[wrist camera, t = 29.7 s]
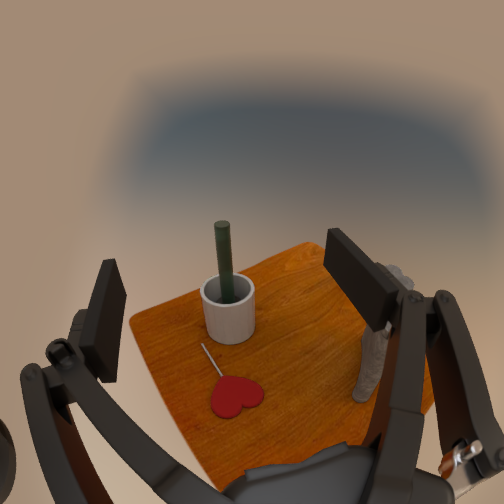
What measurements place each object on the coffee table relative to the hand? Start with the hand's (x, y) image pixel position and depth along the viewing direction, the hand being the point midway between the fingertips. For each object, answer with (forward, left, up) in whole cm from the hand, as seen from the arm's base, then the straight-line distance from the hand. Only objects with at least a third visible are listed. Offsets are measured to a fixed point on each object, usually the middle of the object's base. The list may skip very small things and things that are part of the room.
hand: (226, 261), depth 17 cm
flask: (+16, +16, -29) cm, 37 cm away
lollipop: (-7, +10, -29) cm, 31 cm away
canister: (-9, +20, -29) cm, 37 cm away
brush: (-9, +21, -28) cm, 36 cm away
